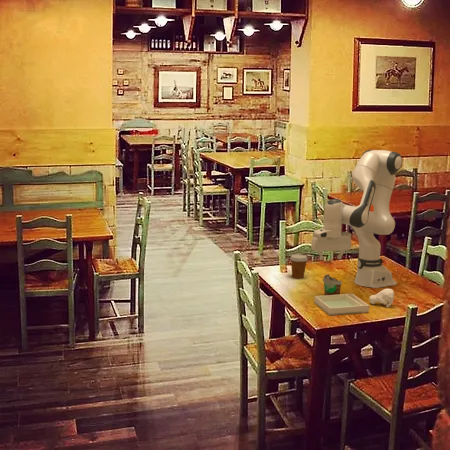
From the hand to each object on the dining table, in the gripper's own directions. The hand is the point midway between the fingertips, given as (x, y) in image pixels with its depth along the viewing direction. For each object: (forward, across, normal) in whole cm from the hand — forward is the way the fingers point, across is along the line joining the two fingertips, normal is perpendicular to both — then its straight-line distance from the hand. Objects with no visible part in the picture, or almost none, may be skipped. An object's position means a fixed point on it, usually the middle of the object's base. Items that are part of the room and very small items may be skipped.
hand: (330, 259), depth 346 cm
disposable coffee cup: (+20, +3, -35) cm, 40 cm away
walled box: (+20, 0, +17) cm, 26 cm away
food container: (+20, 0, 0) cm, 20 cm away
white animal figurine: (+20, -21, +17) cm, 33 cm away
